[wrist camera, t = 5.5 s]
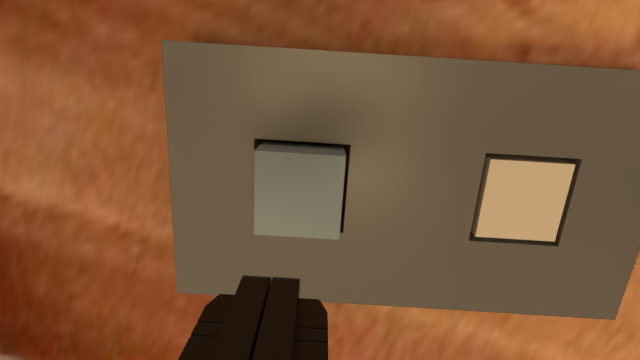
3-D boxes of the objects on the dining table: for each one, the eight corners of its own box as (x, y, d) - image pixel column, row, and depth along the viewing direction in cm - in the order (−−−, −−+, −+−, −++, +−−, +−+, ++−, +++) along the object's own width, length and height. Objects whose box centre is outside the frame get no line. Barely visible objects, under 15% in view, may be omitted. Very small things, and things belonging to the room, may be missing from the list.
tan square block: (548, 154, 21) (575, 164, 19) (531, 224, 22) (554, 241, 20) (472, 149, 21) (490, 159, 19) (459, 219, 22) (475, 236, 20)
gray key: (343, 146, 20) (346, 156, 17) (337, 221, 21) (339, 239, 18) (262, 141, 20) (254, 150, 17) (261, 216, 21) (253, 234, 18)
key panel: (632, 74, 21) (700, 74, 17) (570, 282, 25) (615, 319, 21) (191, 46, 21) (161, 40, 17) (199, 259, 25) (176, 292, 21)
